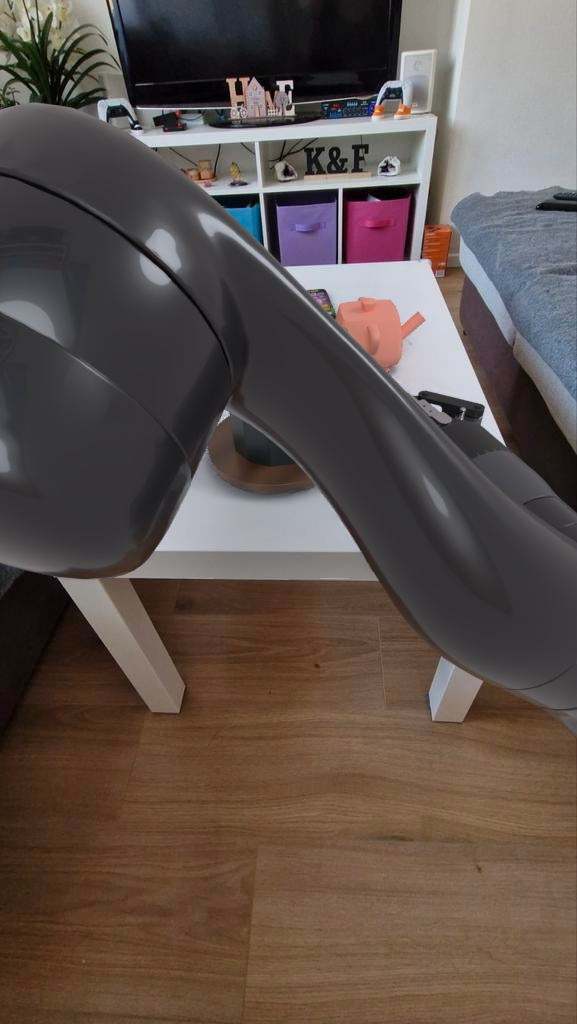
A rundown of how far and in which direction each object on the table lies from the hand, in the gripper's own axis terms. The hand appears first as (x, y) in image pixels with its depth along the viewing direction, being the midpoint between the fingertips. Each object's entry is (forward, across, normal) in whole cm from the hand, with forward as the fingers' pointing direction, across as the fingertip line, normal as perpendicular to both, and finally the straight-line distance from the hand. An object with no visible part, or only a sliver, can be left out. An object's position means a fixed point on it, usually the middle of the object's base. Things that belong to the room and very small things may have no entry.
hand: (372, 386), depth 48 cm
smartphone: (+52, -14, +14) cm, 56 cm away
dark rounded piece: (+11, +7, +14) cm, 19 cm away
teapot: (+28, -14, +14) cm, 34 cm away
